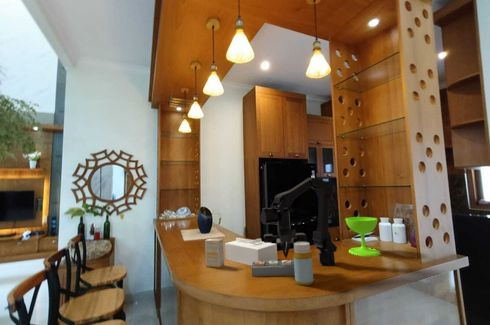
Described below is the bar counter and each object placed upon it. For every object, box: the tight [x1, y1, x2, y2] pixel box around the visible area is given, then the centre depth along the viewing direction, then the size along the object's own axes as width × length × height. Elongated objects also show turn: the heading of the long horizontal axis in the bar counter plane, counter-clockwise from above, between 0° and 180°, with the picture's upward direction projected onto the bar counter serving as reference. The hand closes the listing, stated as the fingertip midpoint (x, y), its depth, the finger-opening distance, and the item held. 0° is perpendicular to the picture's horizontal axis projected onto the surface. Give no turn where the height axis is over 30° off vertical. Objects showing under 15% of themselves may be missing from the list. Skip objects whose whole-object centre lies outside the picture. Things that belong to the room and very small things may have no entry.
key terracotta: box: [255, 261, 265, 266], centre depth 110 cm, size 4×4×2 cm
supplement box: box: [204, 238, 225, 269], centre depth 123 cm, size 8×5×13 cm, turn 65°
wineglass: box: [345, 216, 382, 258], centre depth 134 cm, size 16×16×18 cm
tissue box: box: [224, 237, 279, 267], centre depth 131 cm, size 14×25×11 cm, turn 44°
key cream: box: [281, 259, 292, 265], centre depth 109 cm, size 4×4×2 cm
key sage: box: [269, 260, 279, 266], centre depth 110 cm, size 4×4×2 cm
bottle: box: [293, 241, 314, 287], centre depth 97 cm, size 7×7×15 cm
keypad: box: [251, 260, 295, 277], centre depth 109 cm, size 19×9×4 cm, turn 85°
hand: (285, 257), depth 109 cm, fingers closed
